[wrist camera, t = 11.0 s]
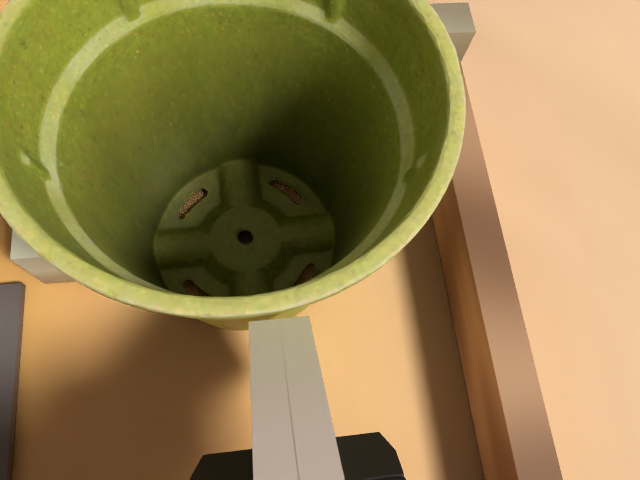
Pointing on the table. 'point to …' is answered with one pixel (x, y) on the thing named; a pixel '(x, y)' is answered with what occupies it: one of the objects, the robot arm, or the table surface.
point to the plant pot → (224, 144)
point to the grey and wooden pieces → (465, 302)
